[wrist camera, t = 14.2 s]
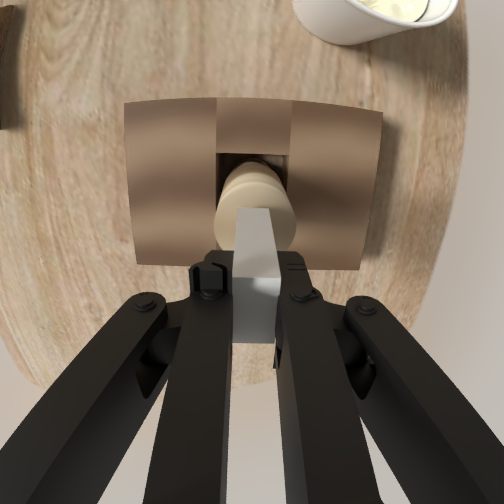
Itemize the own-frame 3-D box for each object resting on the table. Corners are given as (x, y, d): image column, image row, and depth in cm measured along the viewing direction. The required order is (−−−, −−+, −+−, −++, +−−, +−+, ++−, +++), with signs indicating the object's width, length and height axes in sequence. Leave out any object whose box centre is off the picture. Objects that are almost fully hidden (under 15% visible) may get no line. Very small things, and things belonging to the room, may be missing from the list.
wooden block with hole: (140, 102, 24) (124, 103, 20) (365, 110, 24) (383, 112, 21) (149, 245, 30) (137, 264, 26) (347, 250, 31) (358, 270, 27)
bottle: (227, 152, 26) (213, 186, 15) (278, 154, 26) (299, 188, 16) (227, 200, 28) (214, 263, 17) (275, 201, 28) (292, 264, 17)
